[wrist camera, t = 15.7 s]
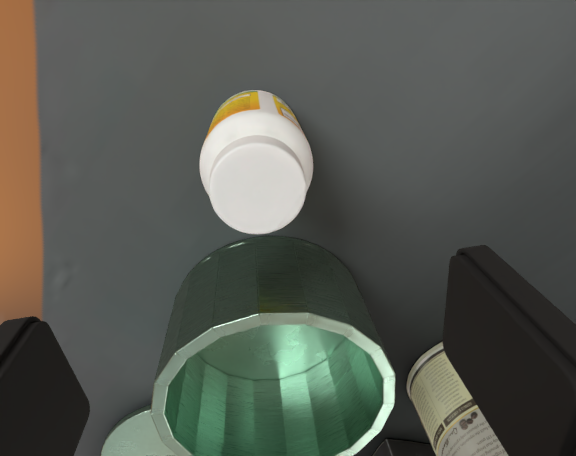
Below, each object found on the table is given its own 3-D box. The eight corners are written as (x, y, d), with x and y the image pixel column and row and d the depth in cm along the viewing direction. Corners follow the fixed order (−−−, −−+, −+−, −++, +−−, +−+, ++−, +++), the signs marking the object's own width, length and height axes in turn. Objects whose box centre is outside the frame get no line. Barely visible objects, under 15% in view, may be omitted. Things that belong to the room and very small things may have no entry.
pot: (356, 220, 28) (398, 292, 20) (361, 368, 35) (393, 462, 27) (151, 250, 27) (116, 335, 20) (197, 394, 34) (184, 497, 27)
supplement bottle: (307, 101, 24) (342, 144, 15) (284, 182, 26) (304, 259, 18) (219, 78, 23) (204, 110, 14) (203, 164, 25) (182, 237, 16)
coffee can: (532, 336, 35) (691, 507, 23) (485, 414, 40) (596, 592, 27) (427, 327, 33) (537, 507, 21) (390, 409, 38) (462, 598, 25)
